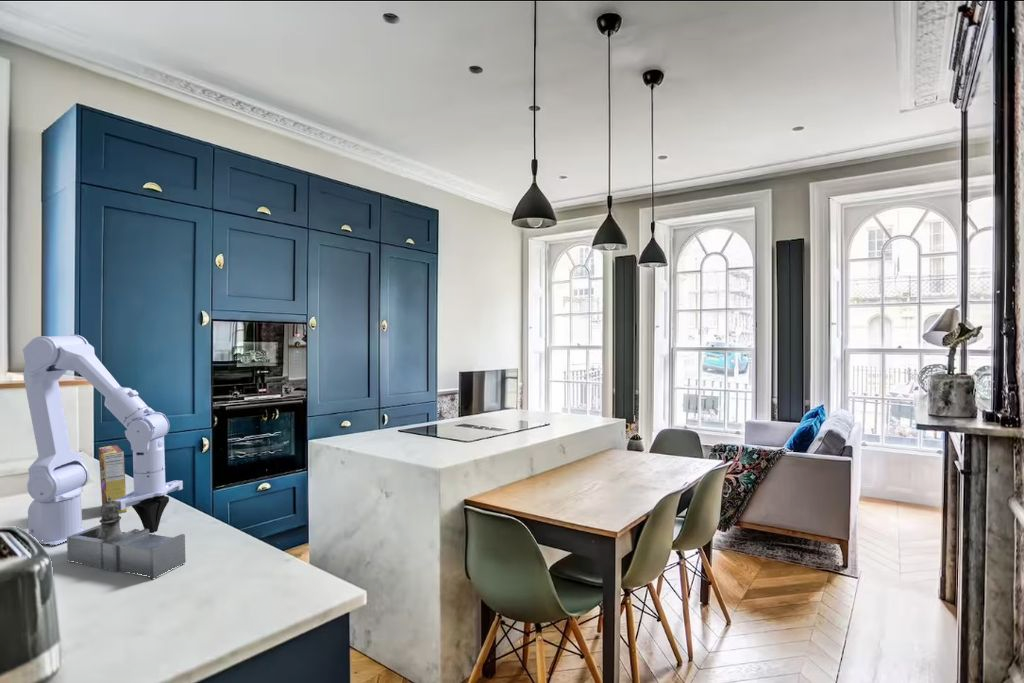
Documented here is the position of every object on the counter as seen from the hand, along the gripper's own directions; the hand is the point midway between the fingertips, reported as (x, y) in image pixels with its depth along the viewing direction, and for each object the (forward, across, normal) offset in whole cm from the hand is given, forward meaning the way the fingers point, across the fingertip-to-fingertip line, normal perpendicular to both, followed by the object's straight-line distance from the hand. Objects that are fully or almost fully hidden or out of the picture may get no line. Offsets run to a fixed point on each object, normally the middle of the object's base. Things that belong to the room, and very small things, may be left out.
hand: (151, 531), depth 120 cm
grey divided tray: (+1, -10, -6) cm, 12 cm away
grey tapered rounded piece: (+2, -9, 0) cm, 9 cm away
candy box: (+2, +10, +25) cm, 27 cm away
